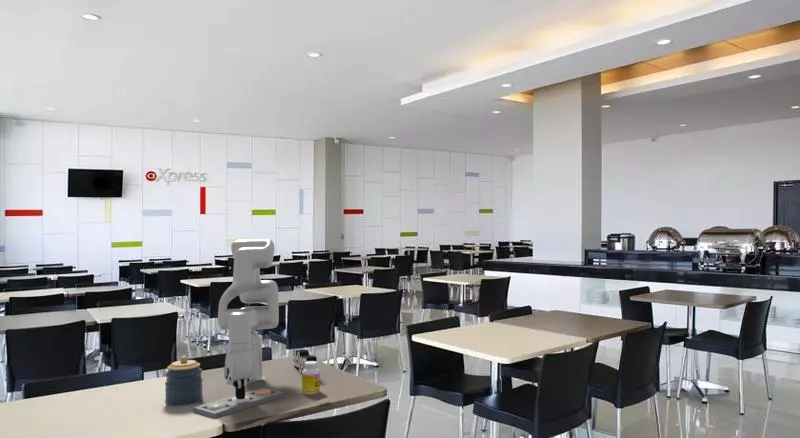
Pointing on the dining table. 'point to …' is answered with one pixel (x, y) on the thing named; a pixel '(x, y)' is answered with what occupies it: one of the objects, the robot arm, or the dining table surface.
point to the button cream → (240, 399)
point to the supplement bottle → (310, 379)
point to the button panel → (234, 406)
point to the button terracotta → (262, 392)
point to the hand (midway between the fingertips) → (240, 398)
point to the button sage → (216, 406)
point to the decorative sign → (302, 359)
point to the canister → (183, 383)
